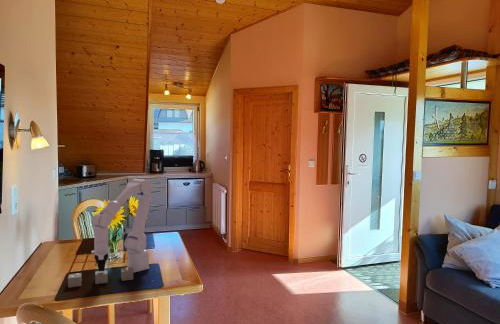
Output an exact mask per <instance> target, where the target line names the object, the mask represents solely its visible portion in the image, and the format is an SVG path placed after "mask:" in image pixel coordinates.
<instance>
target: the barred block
mask: <svg viewBox="0 0 500 324" xmlns="http://www.w3.org/2000/svg"><path fill="white" fill-rule="evenodd" d="M120 274H121V275H120V278H121V281H122V282H123V281H131V280H134V273H133V267H129V268H126V267H122V268H120Z"/></svg>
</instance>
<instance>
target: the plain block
mask: <svg viewBox="0 0 500 324" xmlns="http://www.w3.org/2000/svg"><path fill="white" fill-rule="evenodd" d="M108 273H109V272H108V269H104V271H100V272H99V270H96V271H95V273H94V274H95V275H94V276H95V279H94V280H95V281H94V282H95V285H99V284H100V283H101V284H107V283H109V282H108V281H109V278H108V275H109V274H108Z"/></svg>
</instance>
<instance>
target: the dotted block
mask: <svg viewBox="0 0 500 324" xmlns="http://www.w3.org/2000/svg"><path fill="white" fill-rule="evenodd" d="M82 280H83V279H82V272H78V273H71V274H70V273H69V274H68V277H67V288H69V289H70V288H76V287H81V286H82V283H83V282H82ZM81 282H82V283H81Z"/></svg>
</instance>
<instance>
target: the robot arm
mask: <svg viewBox="0 0 500 324" xmlns="http://www.w3.org/2000/svg"><path fill="white" fill-rule="evenodd" d="M152 188H153V185H152V183H151V182H150V180H148V179H138V178H132V179H130V181H129V182H127V184H126V186H125V188H124V189H123V190H122V192H120V194H119V195H118V196H117V197H116V198H115V200H111V201H108V202H107V204H106V205H105V206H104V208H102V209H101V210H100V211H99V212H97V213H95V214H94V215H92V216H93V217H92V219H91V221H90V222H91V224H92V226H93V238H94V239H93V243H94V246H93V248H94V249H93V250H91V254H94V260H95V262H96V264H97V269H98V270H97V271H99V272H100V271H104V270H106V269H105V268H106V265H107V264H106V263H107V260H108V258H109V252H110V251H109V250H110V249H109V226H110V225H111V224H112V221H113V218H114V217H115V216H116V215H117V213H118V212H120V210H121V206H122V205H123V204H124V203H125V202H126V201H127V200H128V199H129V198H131V197H132V195H136V196H137V198H138V199H139V200H138V203H137V208H136V212H135V216H134V221H133V225H132V229H131V231H129V233H127V237H126V239H125V240H124V244H123V245H124V248H125V249H126V252H127V267H125V268H129V267H133V274H134V273H136V272H141V271H145V270H149V269H150V265H149V262H150V256H149V252H148V250H147V249H146V247H147V235H146V234H145V233H144V232H145V227H146V222H147V219H148V214H149V209H150V205H151V200H152Z"/></svg>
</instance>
